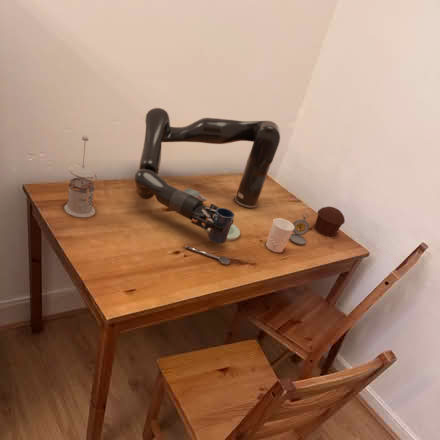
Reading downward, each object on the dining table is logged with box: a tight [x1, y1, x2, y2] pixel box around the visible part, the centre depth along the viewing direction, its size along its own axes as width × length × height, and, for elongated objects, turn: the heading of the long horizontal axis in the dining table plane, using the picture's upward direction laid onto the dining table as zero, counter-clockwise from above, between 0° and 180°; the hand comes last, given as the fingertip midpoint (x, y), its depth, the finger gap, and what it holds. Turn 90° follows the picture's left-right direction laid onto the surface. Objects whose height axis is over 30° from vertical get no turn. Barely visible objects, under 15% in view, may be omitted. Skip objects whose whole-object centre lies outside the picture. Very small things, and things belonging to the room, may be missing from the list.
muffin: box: [314, 206, 345, 237], centre depth 178 cm, size 12×11×10 cm
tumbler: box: [207, 207, 235, 244], centre depth 143 cm, size 6×6×10 cm
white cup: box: [265, 217, 294, 253], centre depth 155 cm, size 8×8×10 cm
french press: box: [63, 135, 97, 218], centre depth 137 cm, size 10×12×25 cm
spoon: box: [185, 245, 231, 266], centre depth 142 cm, size 4×16×1 cm, turn 78°
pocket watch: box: [289, 213, 310, 246], centre depth 165 cm, size 8×8×10 cm
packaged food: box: [182, 187, 208, 203], centre depth 165 cm, size 9×12×5 cm
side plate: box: [206, 223, 241, 242], centre depth 157 cm, size 13×13×1 cm
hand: (228, 226), depth 142 cm, fingers closed on tumbler, 6 cm apart
